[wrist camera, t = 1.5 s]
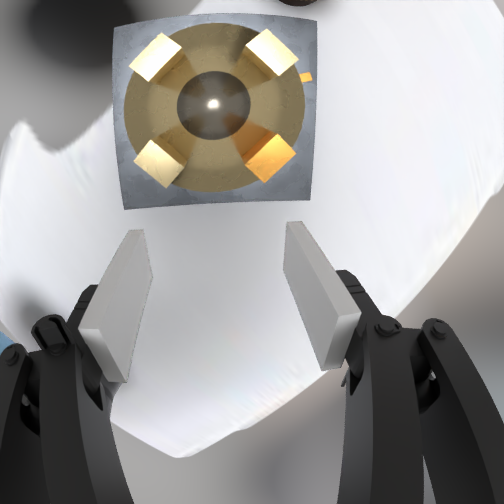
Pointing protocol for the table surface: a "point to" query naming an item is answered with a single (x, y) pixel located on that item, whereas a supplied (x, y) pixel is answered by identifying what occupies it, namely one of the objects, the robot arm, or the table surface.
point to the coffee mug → (298, 2)
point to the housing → (275, 189)
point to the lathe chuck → (214, 107)
